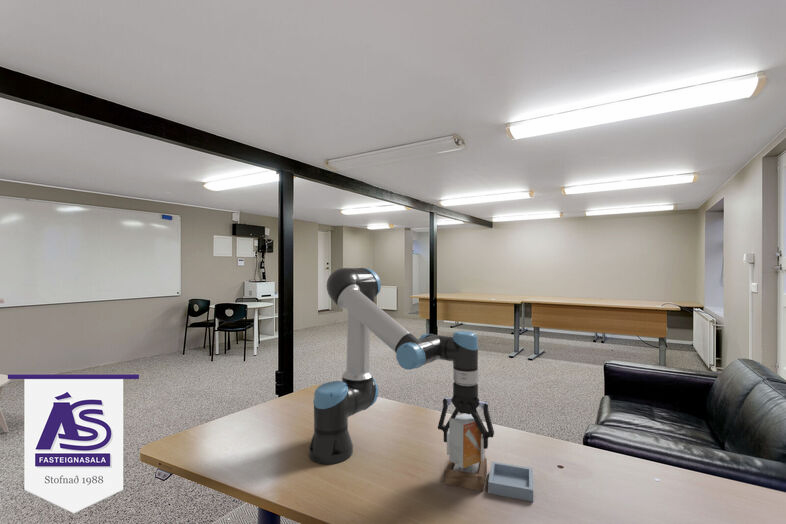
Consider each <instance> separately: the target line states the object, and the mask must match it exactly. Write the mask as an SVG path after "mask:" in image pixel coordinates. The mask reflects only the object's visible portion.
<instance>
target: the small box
mask: <svg viewBox="0 0 786 524" xmlns="http://www.w3.org/2000/svg"><path fill="white" fill-rule="evenodd" d="M448 421H449V429H448V430H449V455H448V457H449V458H448V459H449V460H450V461H452V462H453V463H455V464H456V465H458V466H460V467H461V468H463V469H464V468H466V467H468V466H471V465H473V464H476V463H478V462H481V461H482V460H481V436H482V434H481V432H480V430H479V428H478V426H477V424H476V422H475V420H474V418H473V417H472V415H471V414H466V413H463V414H462V413H461V414H459V415H458V414H457V416H456V417H455V418H450V417H449V418H448ZM481 421H482V422H483V419H482V418H481ZM449 460H448V461H449Z"/></svg>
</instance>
